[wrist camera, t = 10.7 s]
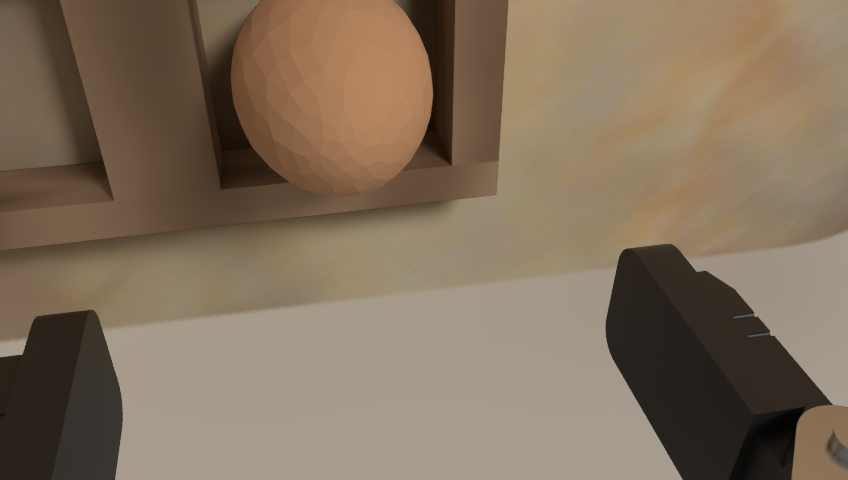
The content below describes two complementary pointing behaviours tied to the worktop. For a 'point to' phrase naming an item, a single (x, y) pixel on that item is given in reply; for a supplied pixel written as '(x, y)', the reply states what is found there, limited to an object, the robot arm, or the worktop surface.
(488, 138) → the egg rail
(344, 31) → the egg
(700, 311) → the robot arm
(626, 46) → the worktop surface
